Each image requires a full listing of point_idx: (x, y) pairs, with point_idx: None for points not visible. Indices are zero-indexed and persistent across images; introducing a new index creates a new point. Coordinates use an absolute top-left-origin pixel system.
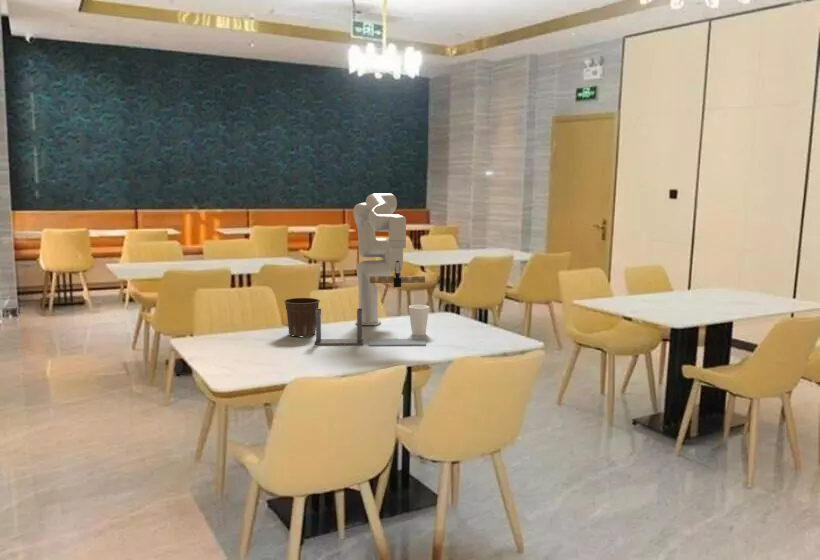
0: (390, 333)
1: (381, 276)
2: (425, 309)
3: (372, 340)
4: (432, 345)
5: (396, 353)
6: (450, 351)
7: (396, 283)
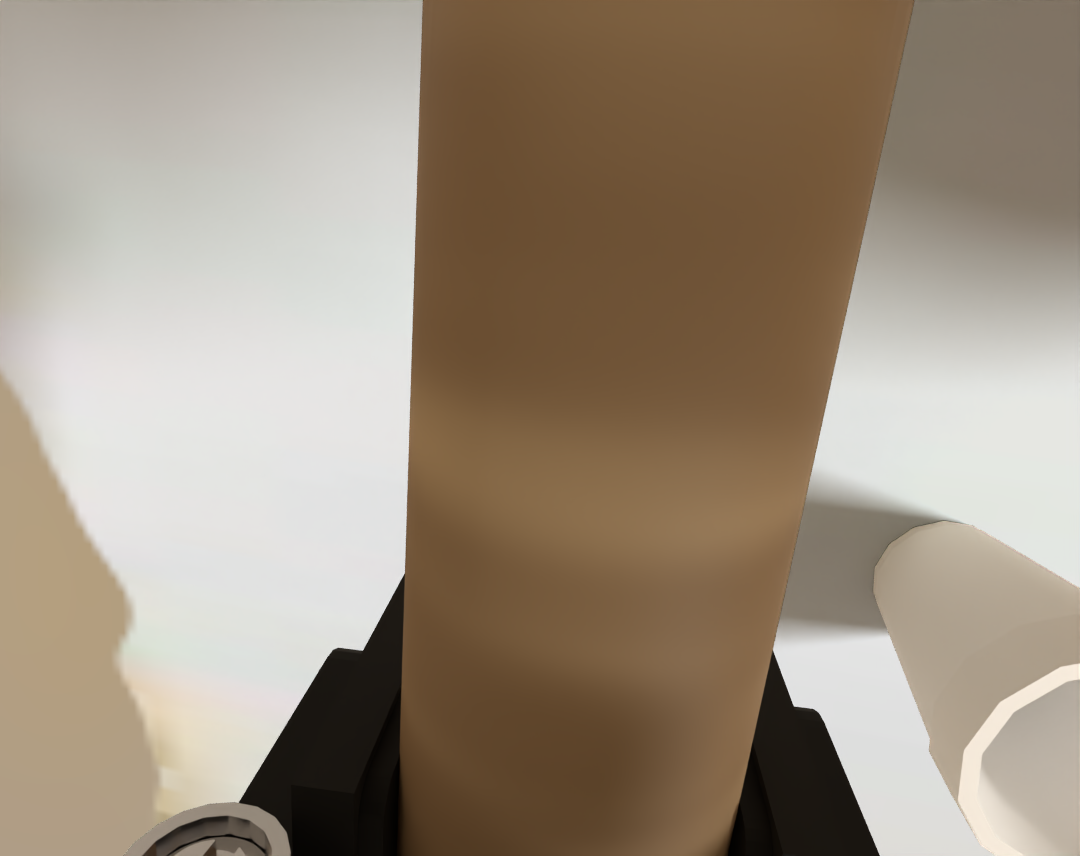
0: (1048, 319)
1: (603, 19)
2: (961, 811)
3: None
4: None
5: (220, 281)
6: (289, 682)
7: (315, 701)
